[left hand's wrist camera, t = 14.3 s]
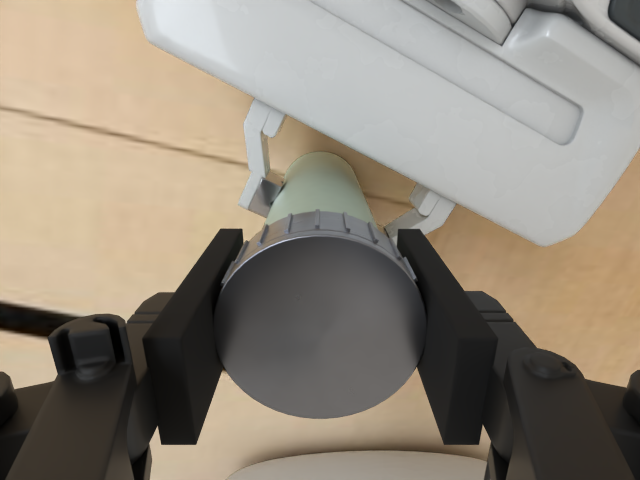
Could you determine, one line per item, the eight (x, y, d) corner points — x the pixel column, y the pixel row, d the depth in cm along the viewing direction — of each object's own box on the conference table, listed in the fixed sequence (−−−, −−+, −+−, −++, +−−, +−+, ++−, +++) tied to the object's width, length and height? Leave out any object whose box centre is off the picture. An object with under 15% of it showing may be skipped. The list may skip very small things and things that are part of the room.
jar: (268, 174, 25) (194, 293, 10) (336, 137, 24) (360, 207, 9) (305, 237, 26) (287, 419, 12) (370, 204, 25) (437, 354, 11)
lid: (188, 304, 12) (165, 343, 10) (311, 165, 11) (309, 181, 9) (326, 402, 13) (327, 452, 11) (452, 290, 12) (476, 327, 10)
